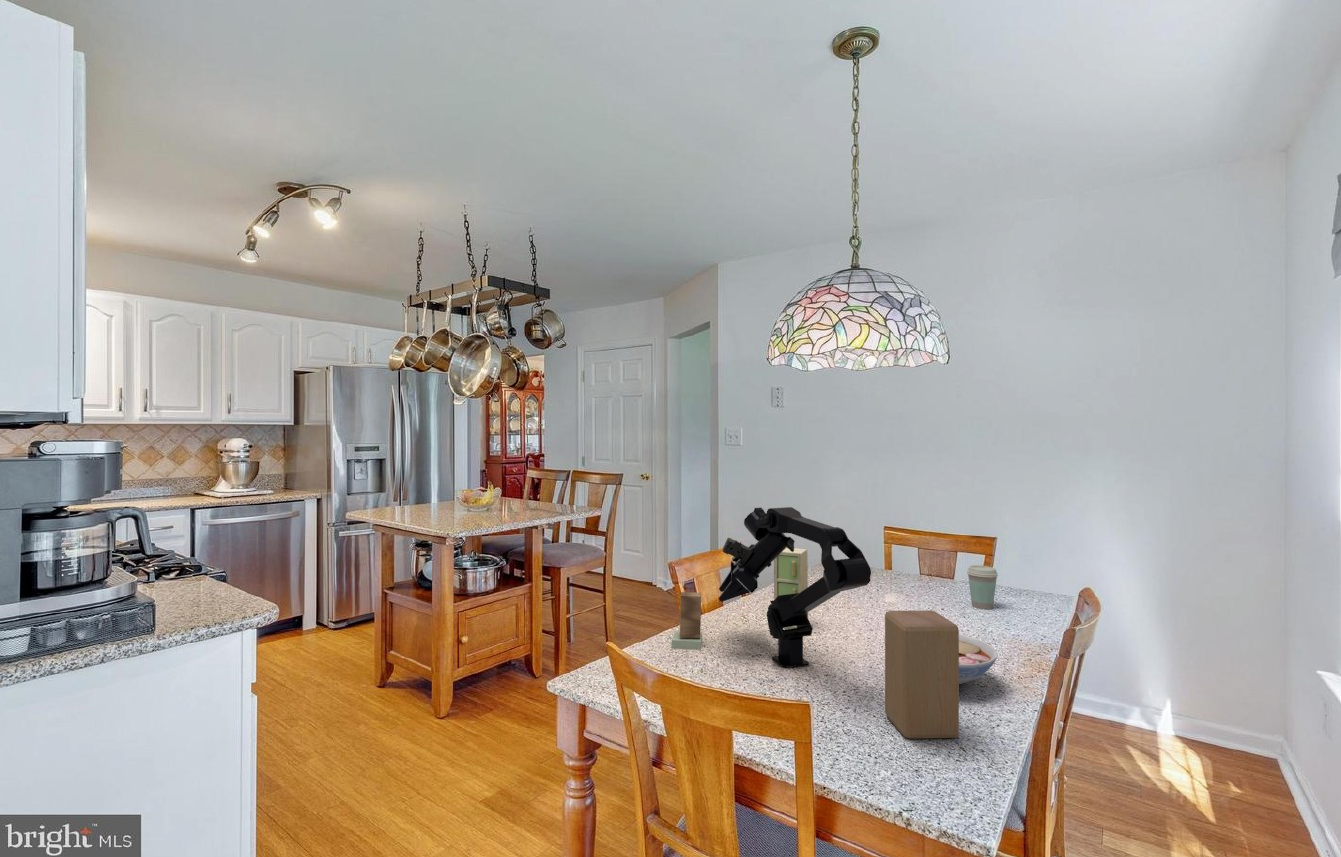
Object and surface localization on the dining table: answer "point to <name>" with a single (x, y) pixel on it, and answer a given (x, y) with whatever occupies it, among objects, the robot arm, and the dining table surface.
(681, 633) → the walnut pillar
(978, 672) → the ramen bowl
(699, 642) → the sage top slab
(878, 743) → the dining table surface
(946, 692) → the wooden block
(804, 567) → the toy refrigerator
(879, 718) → the dining table surface
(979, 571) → the coffee cup
